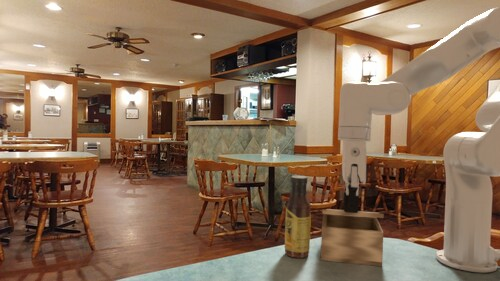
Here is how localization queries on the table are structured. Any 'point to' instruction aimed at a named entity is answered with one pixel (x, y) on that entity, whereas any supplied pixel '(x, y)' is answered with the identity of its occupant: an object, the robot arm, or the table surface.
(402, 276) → the table surface
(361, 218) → the box
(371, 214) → the lid
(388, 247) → the table surface
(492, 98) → the robot arm
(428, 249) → the table surface
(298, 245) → the sauce bottle
